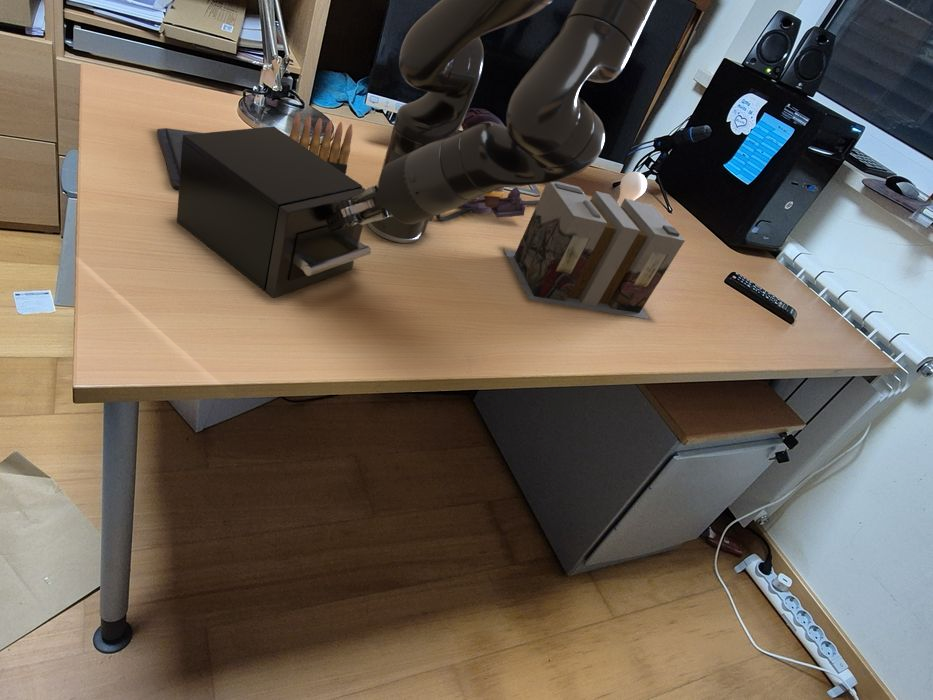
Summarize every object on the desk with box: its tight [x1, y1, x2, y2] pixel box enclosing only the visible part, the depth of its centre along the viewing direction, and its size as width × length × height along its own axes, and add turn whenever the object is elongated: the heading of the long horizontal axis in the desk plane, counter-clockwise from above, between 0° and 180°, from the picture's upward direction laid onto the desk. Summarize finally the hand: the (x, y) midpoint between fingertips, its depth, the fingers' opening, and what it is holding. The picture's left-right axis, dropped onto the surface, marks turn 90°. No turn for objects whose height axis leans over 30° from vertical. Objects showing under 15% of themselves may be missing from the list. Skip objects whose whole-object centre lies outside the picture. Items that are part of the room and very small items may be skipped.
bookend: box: [503, 181, 686, 320], centre depth 109 cm, size 16×25×16 cm, turn 104°
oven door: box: [264, 187, 372, 299], centre depth 82 cm, size 5×15×13 cm, turn 146°
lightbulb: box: [616, 171, 648, 206], centre depth 147 cm, size 6×6×11 cm
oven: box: [176, 126, 364, 292], centre depth 86 cm, size 18×15×13 cm
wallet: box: [156, 127, 200, 191], centre depth 102 cm, size 20×2×15 cm
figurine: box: [457, 107, 526, 218], centre depth 122 cm, size 20×14×17 cm
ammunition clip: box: [288, 112, 353, 175], centre depth 105 cm, size 11×2×12 cm, turn 111°
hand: (331, 223), depth 81 cm, fingers closed
